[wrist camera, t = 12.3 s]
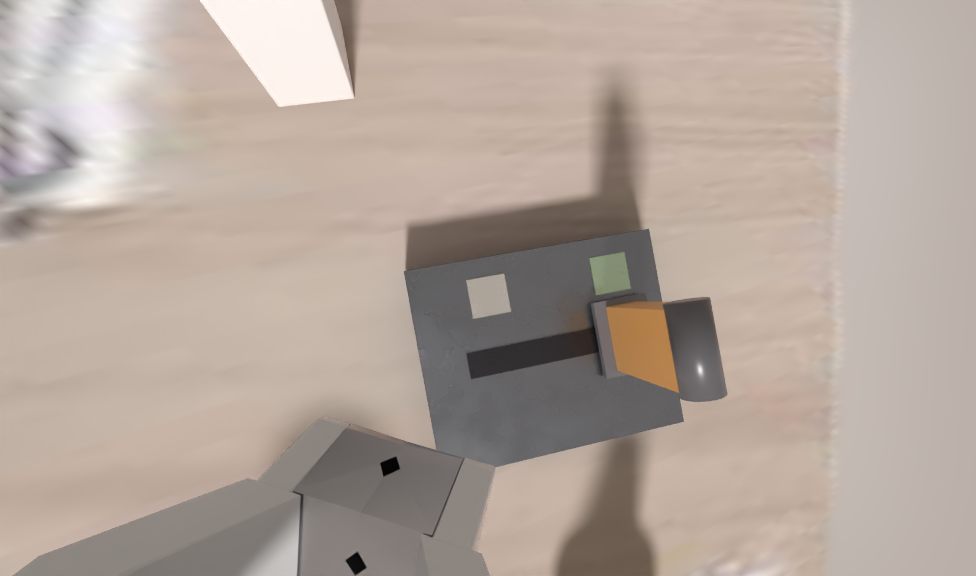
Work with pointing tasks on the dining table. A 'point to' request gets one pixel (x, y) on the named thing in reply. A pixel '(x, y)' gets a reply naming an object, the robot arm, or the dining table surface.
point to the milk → (289, 46)
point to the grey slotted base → (532, 349)
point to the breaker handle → (661, 344)
